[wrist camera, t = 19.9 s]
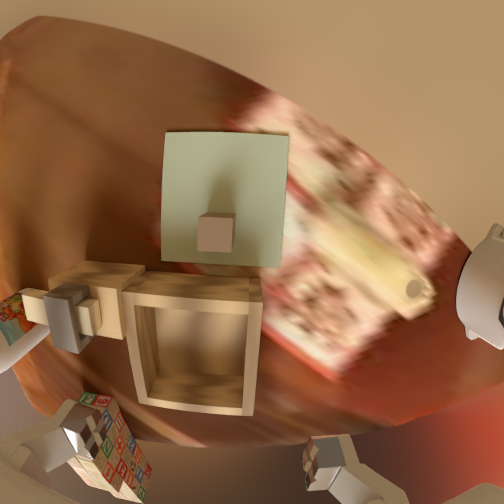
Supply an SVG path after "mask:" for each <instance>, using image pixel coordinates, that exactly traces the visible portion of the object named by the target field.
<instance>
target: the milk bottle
mask: <svg viewBox="0 0 504 504" xmlns="http://www.w3.org/2000/svg"><path fill="white" fill-rule="evenodd" d="M31 289H33V288H25V289H23V290H21V291H19V292H17V293H15V294H14V295H12V296H10V297H8V298H7V299H5V300H3V301H1V302H0V373H2V372H4V371H5V370H7V369H8V368H10V367H11V366H12V365H13V364H15V363H16V362H17V361H18V360H19V359H20V358H21V357H23V356H24V355H25V354H26V353H27V352H28V351H30V350H31V349H32V348H33V347H34V346H35V345H37V344H38V343H39V342H40V341H41V340H42V339H44V338H45V337H46V336H47V335H48V334H49V333H50V328H49V326H47V325H43V324H40V323H36V322H33V321H29V320H27V317H26V313H25V308H24V304H23V299H22V294H24V293H26V292H27V291H29V290H31Z"/></svg>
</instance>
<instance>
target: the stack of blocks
mask: <svg viewBox="0 0 504 504" xmlns="http://www.w3.org/2000/svg"><path fill="white" fill-rule="evenodd" d="M77 402H78V403H81V404H83V405H86V406H89V407H91V408H94V409H97V410H100V412H101V414H102V417H101V420H102V421H103V422H104V423H105V425H106V430H107V433H106V438H105V440H104V442H103V443H101V444H99V445H98V447H99V452H98V453H97V455H96V457H95V459H94V460H91V459H88V458H85V457H83V456H80V455H76V456H75V457H73V458H71V459H70V460H68V461H67V462H68V463H69V464H70V465H71V467H72V468H73V469H74V470H75V471H76V472H77V473H78V475H80V476H81V478H82V479H83V480H84V481H85V482H86V483H87V484H88V485H89V486H93V487H96V488H99V489H103V490H107V491H110V492H111V493H112V494H113V495H114V497H117V498H122V499H125V500H130V501H135V502H139V503H143V502H144V498H145V495H146V489H147V486H148V482H149V478H150V475H151V471H152V469H151V468H150V466H149V464H148V463H147V460H146V459H145V457H144V455H143V454H142V452H141V450H140V448H139V446H138V444H136V441H135V440H134V438H133V436H132V434H131V432H130V430H129V428H128V426H127V424H126V423H125V420H124V418H123V415H122V413H121V411H120V409H119V406H118V404H117V402H116V400H115V398H114V396H109V395H102V394H95V393H88V392H84V393H83V394H82V395H81V396H80V398H79V399H78V400H77Z"/></svg>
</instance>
